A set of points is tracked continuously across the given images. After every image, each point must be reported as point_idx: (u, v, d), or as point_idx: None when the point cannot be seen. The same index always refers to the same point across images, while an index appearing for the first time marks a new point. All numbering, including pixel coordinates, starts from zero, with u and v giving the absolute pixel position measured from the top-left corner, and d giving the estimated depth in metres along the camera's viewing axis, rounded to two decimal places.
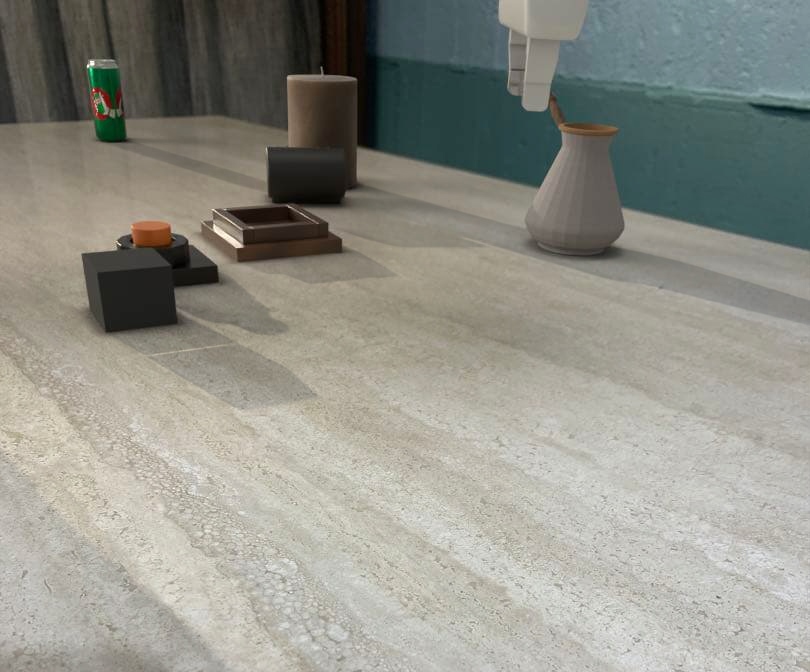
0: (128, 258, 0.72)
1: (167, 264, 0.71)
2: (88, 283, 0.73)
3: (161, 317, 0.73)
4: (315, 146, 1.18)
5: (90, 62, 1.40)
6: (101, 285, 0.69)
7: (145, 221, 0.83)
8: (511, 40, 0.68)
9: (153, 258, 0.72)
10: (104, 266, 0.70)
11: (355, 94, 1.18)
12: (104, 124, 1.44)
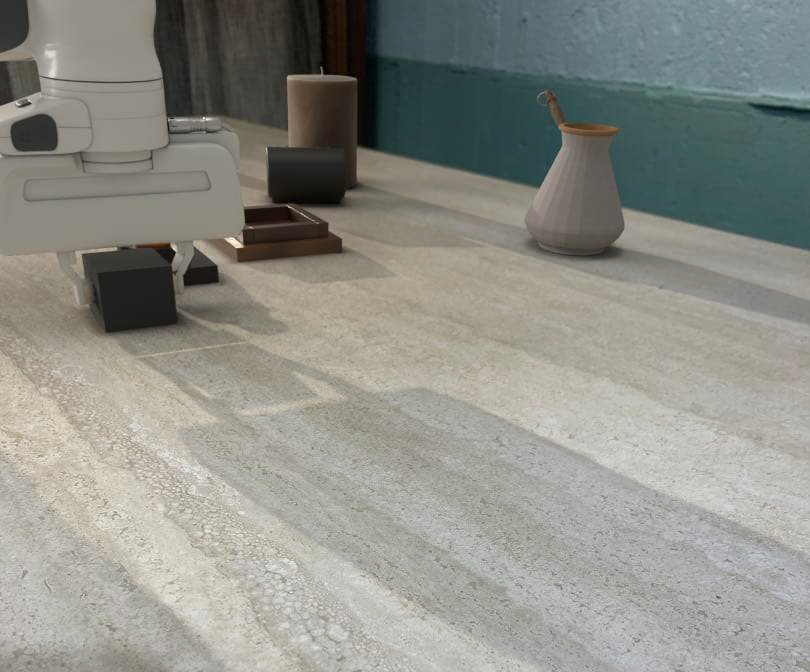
0: (128, 258, 0.72)
1: (167, 264, 0.71)
2: None
3: (161, 318, 0.73)
4: (315, 146, 1.18)
5: None
6: (101, 285, 0.69)
7: None
8: (171, 245, 0.74)
9: (153, 258, 0.72)
10: (104, 266, 0.70)
11: (355, 94, 1.18)
12: None
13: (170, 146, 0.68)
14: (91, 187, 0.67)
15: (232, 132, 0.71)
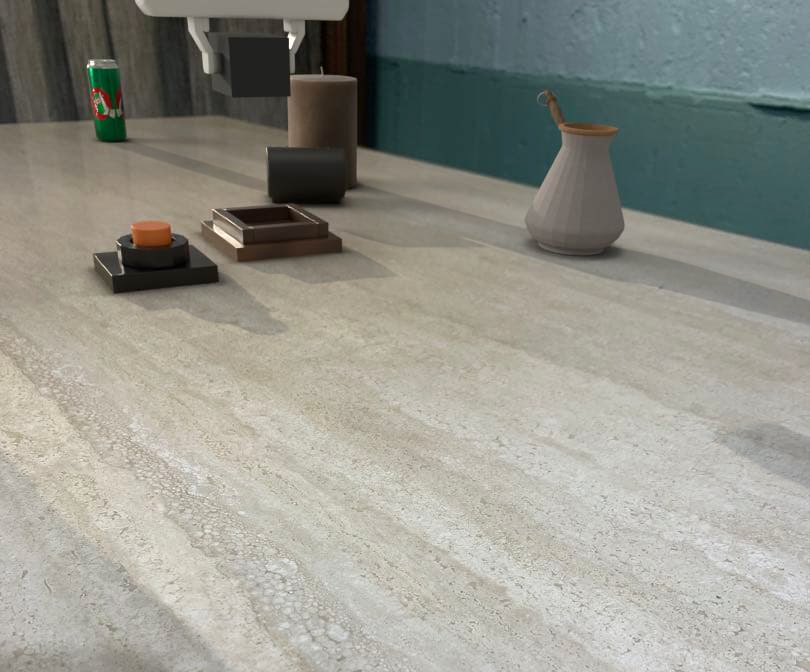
0: (249, 34, 0.83)
1: (285, 37, 0.82)
2: None
3: (278, 88, 0.84)
4: (315, 146, 1.18)
5: (90, 62, 1.40)
6: (231, 49, 0.80)
7: (145, 221, 0.83)
8: (284, 28, 0.85)
9: (271, 35, 0.83)
10: (232, 35, 0.81)
11: (355, 94, 1.18)
12: (104, 124, 1.44)
13: None
14: None
15: None
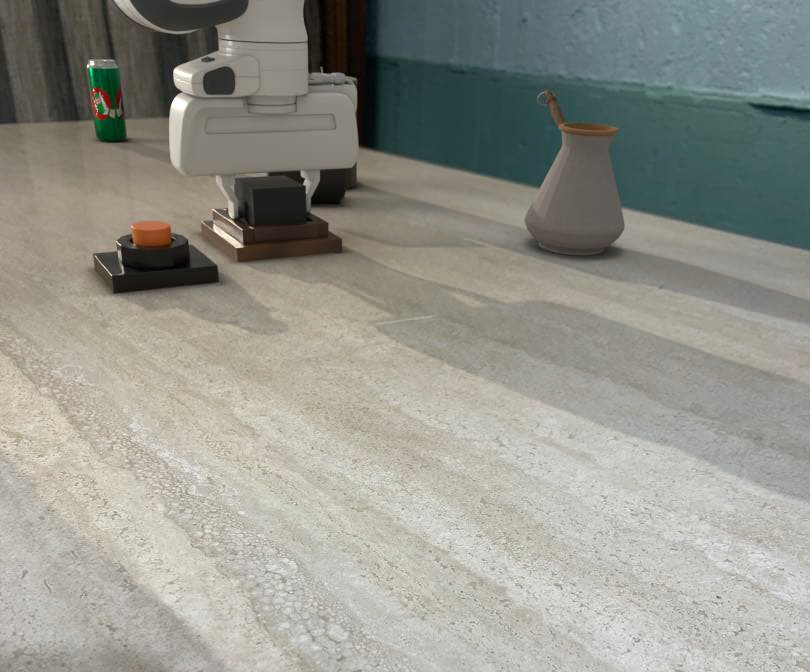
0: (270, 181, 0.94)
1: (302, 185, 0.93)
2: None
3: None
4: None
5: (90, 62, 1.40)
6: (255, 199, 0.90)
7: (145, 221, 0.83)
8: (301, 174, 0.96)
9: (289, 181, 0.94)
10: (256, 185, 0.91)
11: None
12: (104, 124, 1.44)
13: (309, 94, 0.89)
14: (252, 125, 0.88)
15: (352, 85, 0.92)
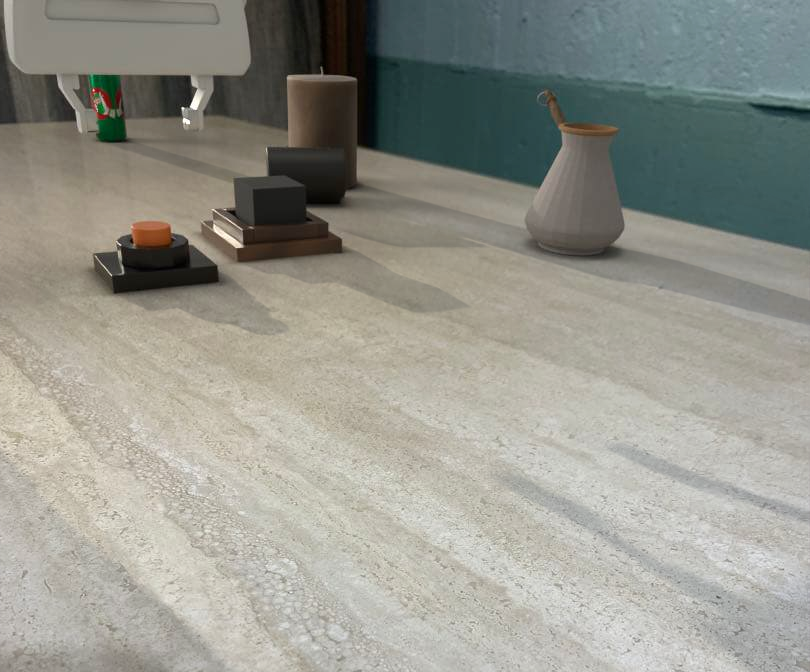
0: (270, 181, 0.94)
1: (302, 185, 0.93)
2: (238, 201, 0.94)
3: None
4: (315, 146, 1.18)
5: None
6: (255, 199, 0.90)
7: (145, 221, 0.83)
8: (192, 83, 0.79)
9: (289, 181, 0.94)
10: (256, 185, 0.91)
11: (355, 94, 1.18)
12: (104, 124, 1.44)
13: None
14: (108, 11, 0.71)
15: None
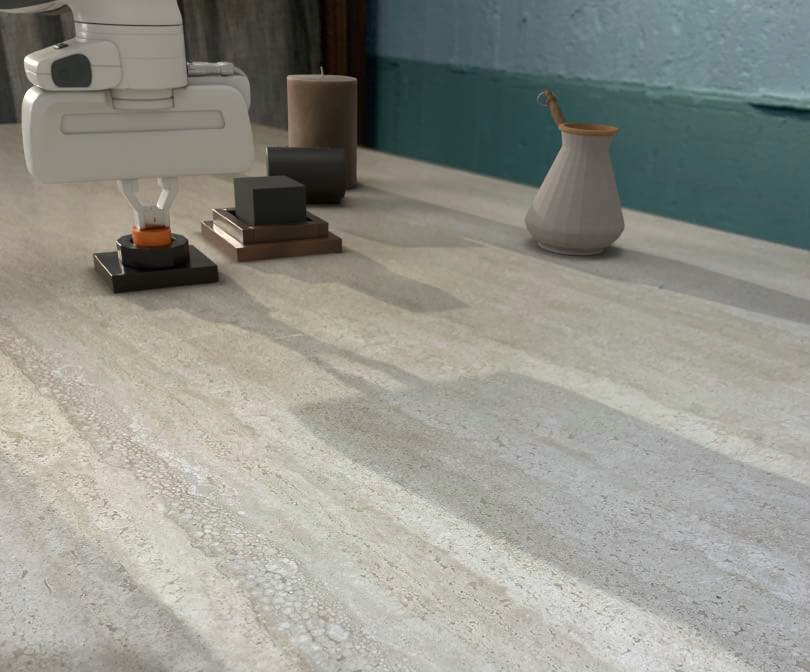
0: (270, 181, 0.94)
1: (302, 185, 0.93)
2: (238, 201, 0.94)
3: None
4: (315, 146, 1.18)
5: None
6: (255, 199, 0.90)
7: None
8: (158, 182, 0.81)
9: (289, 181, 0.94)
10: (256, 185, 0.91)
11: (355, 94, 1.18)
12: None
13: (189, 87, 0.76)
14: (120, 123, 0.75)
15: (243, 76, 0.79)
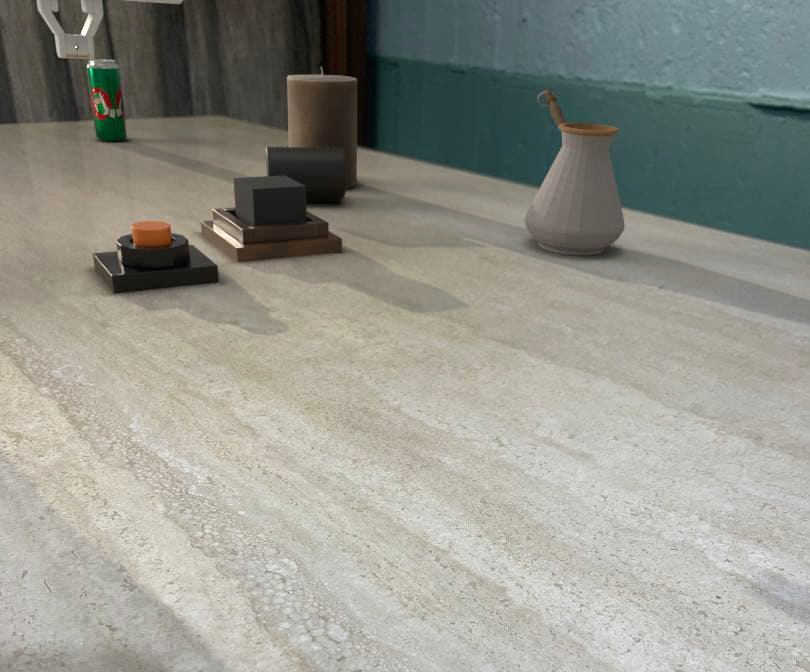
0: (270, 181, 0.94)
1: (302, 185, 0.93)
2: (238, 201, 0.94)
3: None
4: (315, 146, 1.18)
5: (90, 62, 1.40)
6: (255, 199, 0.90)
7: (145, 221, 0.83)
8: (82, 8, 0.76)
9: (289, 181, 0.94)
10: (256, 185, 0.91)
11: (355, 94, 1.18)
12: (104, 124, 1.44)
13: None
14: None
15: None
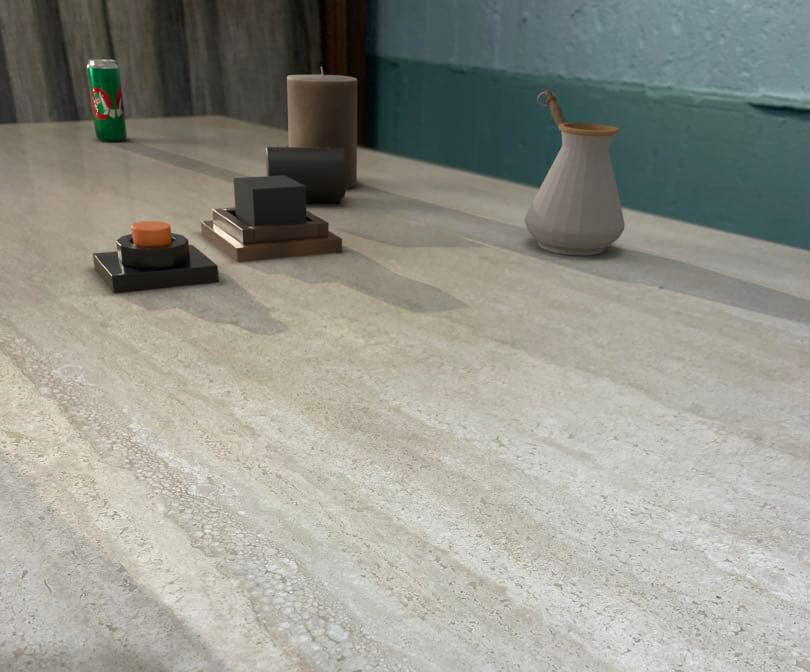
0: (270, 181, 0.94)
1: (302, 185, 0.93)
2: (238, 201, 0.94)
3: None
4: (315, 146, 1.18)
5: (90, 62, 1.40)
6: (255, 199, 0.90)
7: (145, 221, 0.83)
8: None
9: (289, 181, 0.94)
10: (256, 185, 0.91)
11: (355, 94, 1.18)
12: (104, 124, 1.44)
13: None
14: None
15: None
